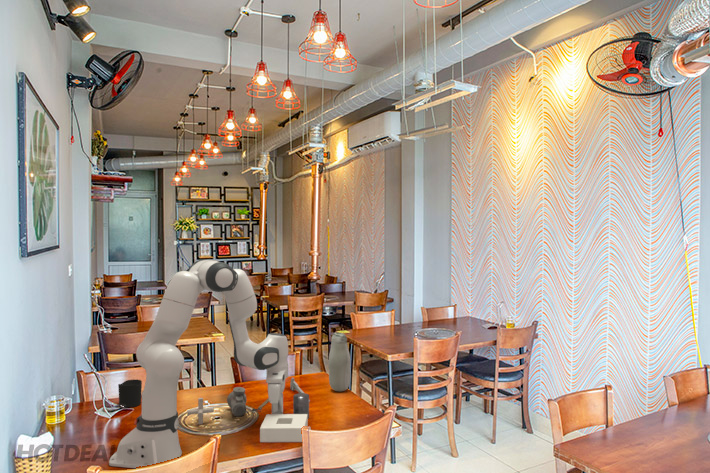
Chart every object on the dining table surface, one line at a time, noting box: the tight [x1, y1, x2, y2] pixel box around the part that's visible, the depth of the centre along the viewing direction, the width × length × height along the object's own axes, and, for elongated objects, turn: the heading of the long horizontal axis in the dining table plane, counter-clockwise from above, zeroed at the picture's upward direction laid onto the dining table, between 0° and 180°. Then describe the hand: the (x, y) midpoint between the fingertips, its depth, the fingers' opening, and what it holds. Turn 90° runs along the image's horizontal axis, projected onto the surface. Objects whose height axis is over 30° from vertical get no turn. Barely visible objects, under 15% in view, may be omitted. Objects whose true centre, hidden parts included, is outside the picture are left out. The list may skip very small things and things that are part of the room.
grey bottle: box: [328, 332, 351, 392], centre depth 234 cm, size 10×10×28 cm
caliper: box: [289, 377, 311, 403], centre depth 227 cm, size 21×1×6 cm, turn 30°
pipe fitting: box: [226, 386, 247, 418], centre depth 205 cm, size 12×8×10 cm
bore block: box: [259, 413, 309, 443], centre depth 182 cm, size 16×14×5 cm
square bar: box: [271, 393, 284, 414], centre depth 197 cm, size 4×4×10 cm
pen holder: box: [118, 379, 143, 408], centre depth 215 cm, size 9×9×10 cm
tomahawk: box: [251, 397, 270, 413], centre depth 217 cm, size 22×7×1 cm, turn 166°
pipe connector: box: [186, 397, 215, 425], centre depth 193 cm, size 10×10×10 cm
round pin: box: [292, 392, 310, 419], centre depth 199 cm, size 6×6×9 cm
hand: (277, 406), depth 197 cm, fingers open, 8 cm apart
